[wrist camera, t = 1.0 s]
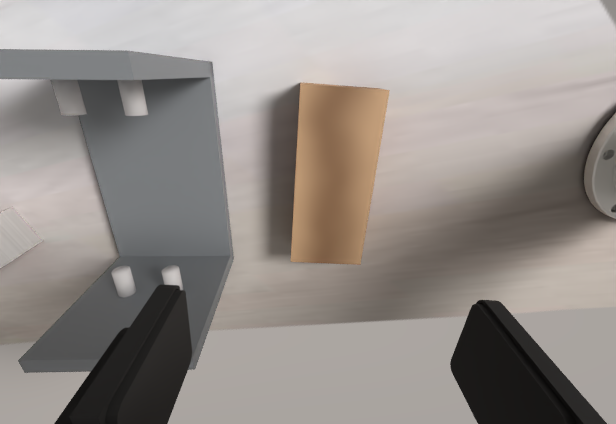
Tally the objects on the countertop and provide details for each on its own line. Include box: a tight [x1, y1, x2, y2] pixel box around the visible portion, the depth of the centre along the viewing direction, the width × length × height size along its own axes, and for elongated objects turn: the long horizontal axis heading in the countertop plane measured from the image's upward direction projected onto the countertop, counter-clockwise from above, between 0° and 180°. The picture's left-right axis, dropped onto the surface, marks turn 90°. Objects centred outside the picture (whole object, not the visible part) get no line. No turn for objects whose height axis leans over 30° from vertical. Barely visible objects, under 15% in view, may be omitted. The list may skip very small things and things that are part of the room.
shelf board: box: [291, 83, 389, 265], centre depth 25 cm, size 6×14×4 cm, turn 176°
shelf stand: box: [0, 49, 234, 373], centre depth 20 cm, size 10×17×12 cm, turn 0°
